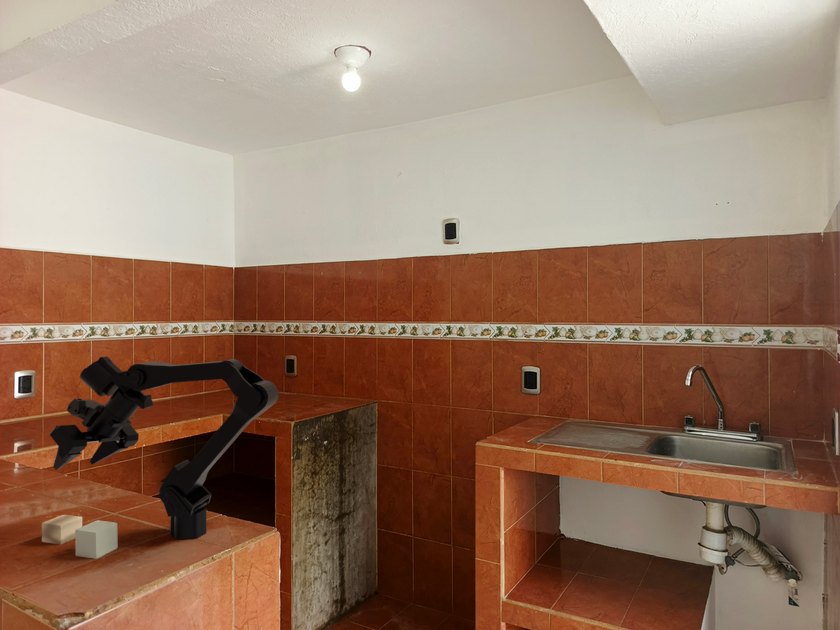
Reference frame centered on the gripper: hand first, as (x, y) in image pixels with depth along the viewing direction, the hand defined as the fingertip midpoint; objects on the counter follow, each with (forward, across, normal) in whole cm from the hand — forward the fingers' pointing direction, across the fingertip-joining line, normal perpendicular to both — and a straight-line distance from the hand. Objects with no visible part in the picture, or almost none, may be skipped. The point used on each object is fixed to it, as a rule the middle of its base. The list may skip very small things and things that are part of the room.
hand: (73, 465), depth 120 cm
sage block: (+3, +6, +20) cm, 21 cm away
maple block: (+11, +2, +11) cm, 16 cm away
